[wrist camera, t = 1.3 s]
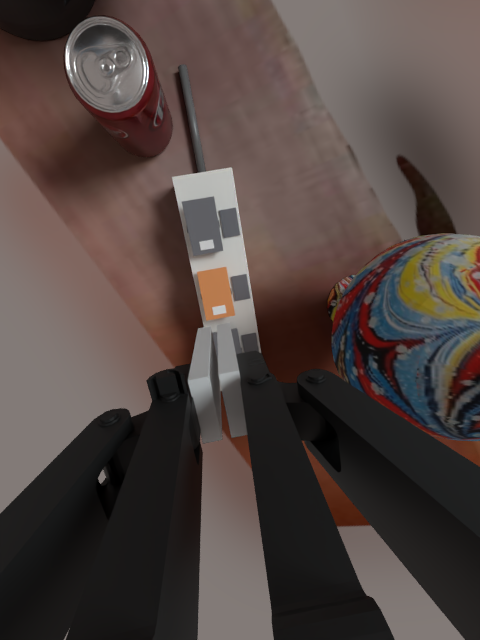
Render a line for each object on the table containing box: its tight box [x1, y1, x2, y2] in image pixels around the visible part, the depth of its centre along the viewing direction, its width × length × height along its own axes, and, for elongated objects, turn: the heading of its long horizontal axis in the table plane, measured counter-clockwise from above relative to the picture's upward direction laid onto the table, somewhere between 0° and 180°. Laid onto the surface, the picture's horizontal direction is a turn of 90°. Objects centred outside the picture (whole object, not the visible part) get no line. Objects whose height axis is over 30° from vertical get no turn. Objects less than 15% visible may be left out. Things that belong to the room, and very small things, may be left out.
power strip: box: [172, 65, 261, 391], centre depth 36 cm, size 40×7×5 cm, turn 9°
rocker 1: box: [182, 196, 223, 256], centre depth 33 cm, size 6×4×1 cm, turn 9°
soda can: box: [63, 15, 173, 157], centre depth 29 cm, size 7×7×12 cm
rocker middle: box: [197, 267, 235, 321], centre depth 35 cm, size 6×4×1 cm, turn 10°
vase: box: [327, 233, 480, 441], centre depth 28 cm, size 19×19×30 cm
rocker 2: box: [212, 328, 242, 358], centre depth 37 cm, size 6×4×1 cm, turn 9°
